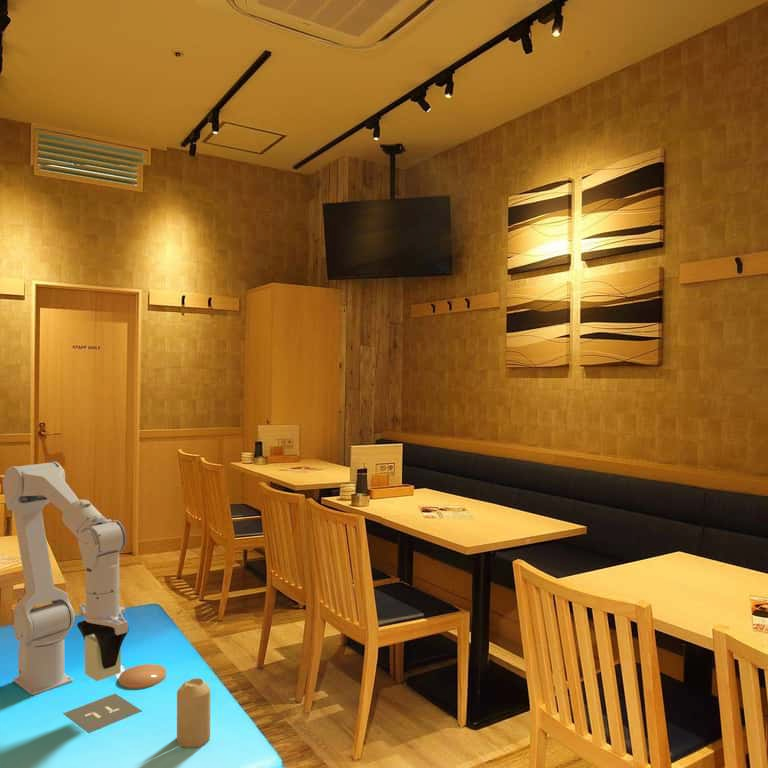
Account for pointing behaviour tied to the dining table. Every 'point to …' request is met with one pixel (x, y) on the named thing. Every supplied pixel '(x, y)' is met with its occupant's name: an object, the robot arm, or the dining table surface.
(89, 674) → the block
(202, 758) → the dining table surface
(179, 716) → the candle
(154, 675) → the orange disc
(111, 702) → the brown tile
